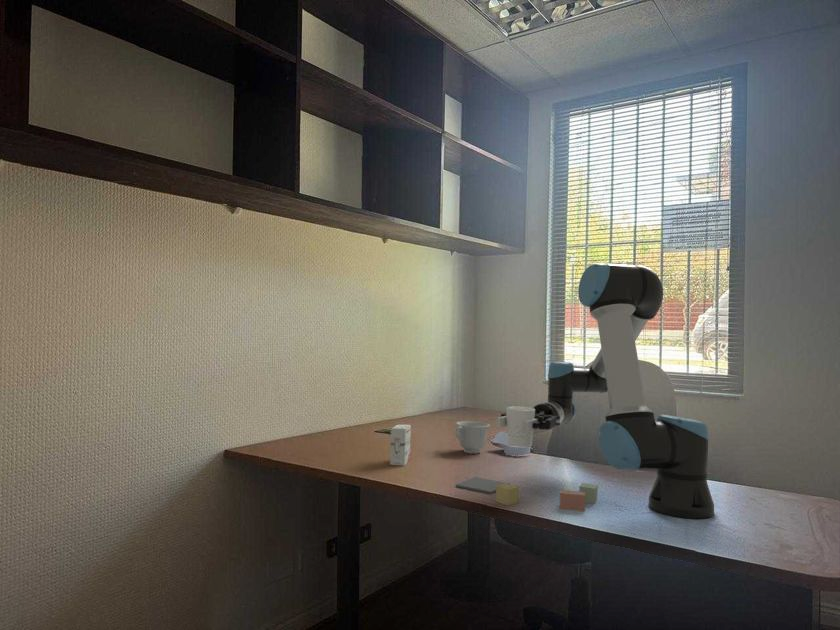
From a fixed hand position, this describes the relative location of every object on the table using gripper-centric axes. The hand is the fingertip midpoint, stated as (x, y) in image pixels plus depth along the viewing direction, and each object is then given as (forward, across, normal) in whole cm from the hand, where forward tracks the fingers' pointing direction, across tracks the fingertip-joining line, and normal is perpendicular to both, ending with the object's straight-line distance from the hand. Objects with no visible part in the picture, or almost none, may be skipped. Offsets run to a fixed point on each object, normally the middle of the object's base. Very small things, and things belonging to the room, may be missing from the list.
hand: (511, 424), depth 159 cm
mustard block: (+7, -3, -18) cm, 20 cm away
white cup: (-5, 0, -6) cm, 8 cm away
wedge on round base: (-47, +23, -19) cm, 56 cm away
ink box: (-8, +43, -19) cm, 48 cm away
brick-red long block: (+1, -18, -18) cm, 26 cm away
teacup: (-37, +35, -19) cm, 54 cm away
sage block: (-8, -19, -18) cm, 27 cm away
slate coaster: (-1, +9, -18) cm, 21 cm away
